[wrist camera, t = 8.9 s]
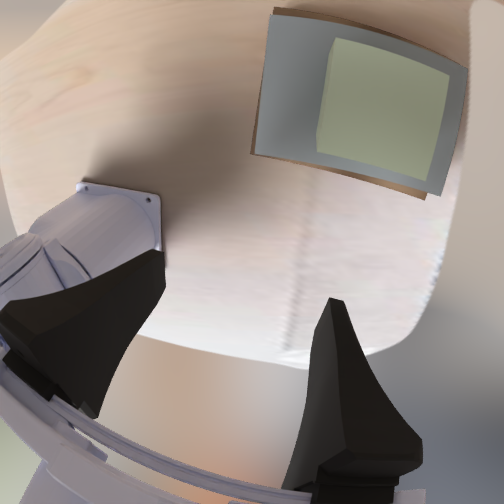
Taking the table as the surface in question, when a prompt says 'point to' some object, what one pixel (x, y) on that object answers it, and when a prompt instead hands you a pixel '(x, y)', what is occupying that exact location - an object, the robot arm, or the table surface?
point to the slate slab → (311, 91)
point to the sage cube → (380, 108)
